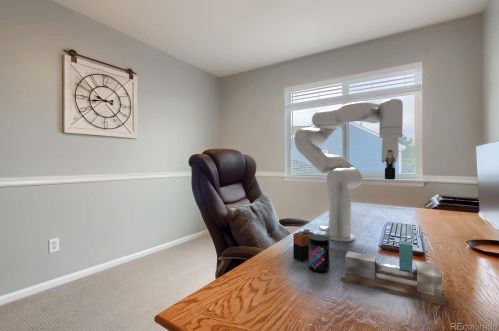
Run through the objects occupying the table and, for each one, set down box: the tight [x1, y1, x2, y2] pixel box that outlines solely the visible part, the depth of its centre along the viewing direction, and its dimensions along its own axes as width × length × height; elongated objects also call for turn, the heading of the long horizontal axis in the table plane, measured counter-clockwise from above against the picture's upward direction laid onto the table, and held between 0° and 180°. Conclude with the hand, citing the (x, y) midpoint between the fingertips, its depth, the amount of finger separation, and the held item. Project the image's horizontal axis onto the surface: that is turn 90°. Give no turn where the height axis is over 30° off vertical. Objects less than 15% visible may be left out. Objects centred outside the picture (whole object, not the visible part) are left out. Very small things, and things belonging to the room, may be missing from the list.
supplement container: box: [307, 233, 331, 274], centre depth 78 cm, size 7×7×10 cm
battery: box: [292, 228, 315, 263], centre depth 87 cm, size 4×7×10 cm, turn 127°
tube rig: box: [340, 250, 447, 306], centre depth 70 cm, size 24×12×6 cm, turn 59°
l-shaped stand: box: [375, 240, 417, 282], centre depth 69 cm, size 16×3×10 cm, turn 59°
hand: (390, 178), depth 92 cm, fingers open, 9 cm apart
